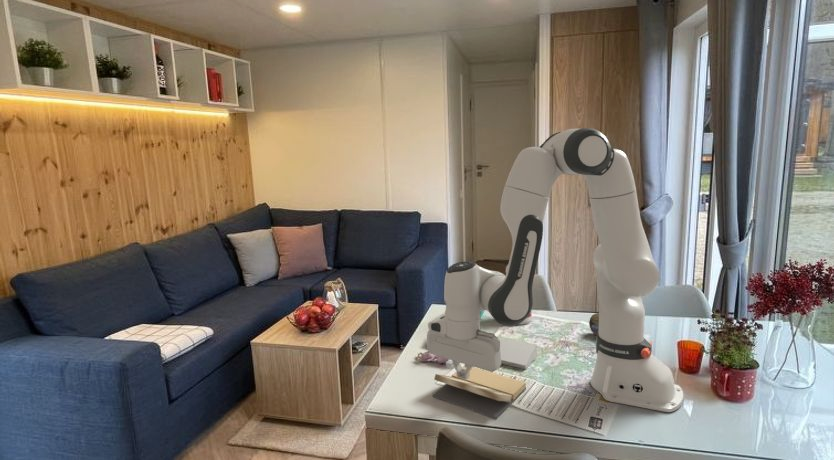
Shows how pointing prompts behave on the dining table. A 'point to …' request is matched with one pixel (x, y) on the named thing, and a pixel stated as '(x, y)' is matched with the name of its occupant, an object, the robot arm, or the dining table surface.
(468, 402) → the laid floor
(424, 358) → the rabbit figure
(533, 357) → the decorative molding
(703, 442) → the dining table surface
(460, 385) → the ash plank
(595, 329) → the tin
